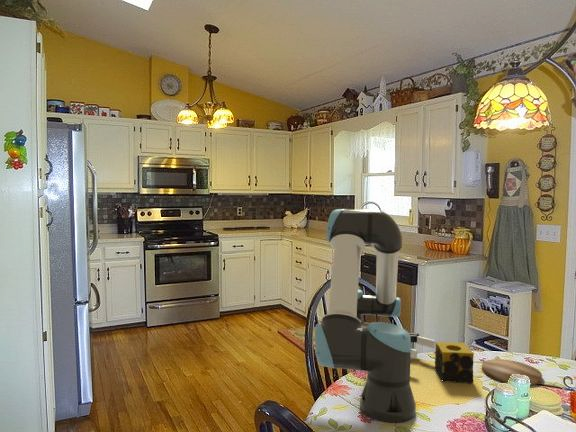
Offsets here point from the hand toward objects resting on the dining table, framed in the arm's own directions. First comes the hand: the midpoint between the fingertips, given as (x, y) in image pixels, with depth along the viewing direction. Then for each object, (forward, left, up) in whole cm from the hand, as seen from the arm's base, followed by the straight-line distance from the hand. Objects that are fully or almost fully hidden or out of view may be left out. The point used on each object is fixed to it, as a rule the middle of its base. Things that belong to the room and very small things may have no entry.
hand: (425, 349), depth 149 cm
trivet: (+16, -23, -6) cm, 29 cm away
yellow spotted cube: (0, -10, -7) cm, 12 cm away
